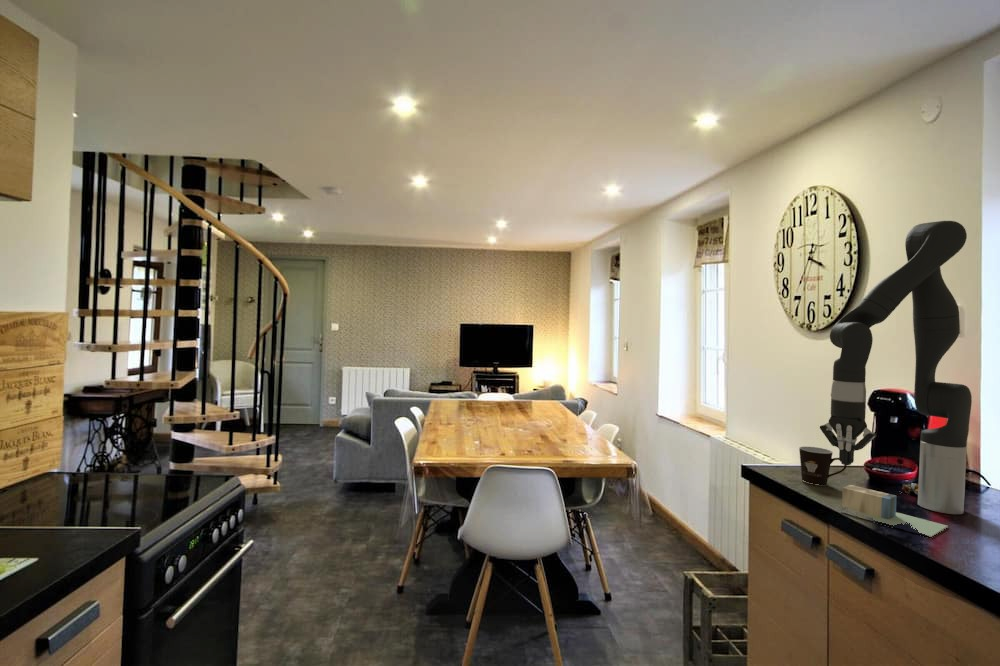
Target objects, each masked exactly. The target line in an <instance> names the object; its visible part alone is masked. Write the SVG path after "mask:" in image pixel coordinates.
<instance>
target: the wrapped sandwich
mask: <svg viewBox="0 0 1000 666" xmlns="http://www.w3.org/2000/svg"><path fill="white" fill-rule="evenodd" d="M918 486H919V483H913V482H911V484H903V483H902V490H903V491H904V492H905V493H908V494H909V495H910V493H914V494H915V495H917V496H918ZM900 492H901V491H900ZM901 493H903V492H901ZM901 493H900V494H901ZM908 494H907V495H908Z"/></svg>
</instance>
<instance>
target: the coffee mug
mask: <svg viewBox="0 0 1000 666" xmlns="http://www.w3.org/2000/svg"><path fill="white" fill-rule="evenodd" d="M798 449H799V450H798V451H799V460H800V471H801V472H800V473H801V481H802V480H804V481H806V482H809V483H813V484H819V485H826V484H828V480H829V478H830V477H832V476H836V475H838V474H841V473H843V472H844V471H845V470H846V469H847V466H848V465H844V464H843V465H844V467H843V468H842V469H841V470H838V471H835V472H833V473H830V471H831V470H830V469H831V465H832V464H833V462H835V461H837V460H838V461H840V460H839V457H834V458H833V457H832V456H833V451H832V450H830V449H827V448H823V447H818V446H817V447H815V446H799V448H798ZM826 486H827V485H826Z"/></svg>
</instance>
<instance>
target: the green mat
mask: <svg viewBox="0 0 1000 666" xmlns="http://www.w3.org/2000/svg"><path fill="white" fill-rule="evenodd" d="M860 514H861V515H862V514H863V515H864V514H865V515H866V516H868V517H871V518H873V520H875V521H878V522H882V523H886V524H889V525H893V526H894V525H897V524H901V523H902V524H903V525H904V524H905V523H906V522H907V523H908V524H909V523H910V526H911V525H912V526H911V528H912V527H913V529H915V528H916V529H917V530H918V532H919V533H922V534H925V535H927V536H929V537H932V536H934V535H936V534H937V535H939V534H940V533H942V532H944V531H945V530H947V529H948V527H949V525H947V524H944V523H943V524H942V523H939V522H935V521H932V520H931V521H930V520H928V519H925V518H921V517H915V516H911V515H908V514H906V513H905V514H904V513H901V512H897V511H896V516H894V517H893V518H891V519H889V520H888V519H884V518H880V517H877V516H873V515H869V514H866V513H862V512H860ZM907 523H906V524H907ZM946 528H947V529H946ZM916 529H915V530H916ZM944 529H945V530H944ZM941 531H942V532H941ZM939 532H940V533H939ZM938 533H939V534H938ZM937 535H936V536H937ZM934 537H935V536H934ZM932 538H933V537H932Z"/></svg>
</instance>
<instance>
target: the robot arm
mask: <svg viewBox="0 0 1000 666" xmlns="http://www.w3.org/2000/svg"><path fill="white" fill-rule="evenodd" d="M967 236H968V235H967V229H966V228H965V226H963V224H961V223H959V222H958V221H955V220H938V221H932V222H924V223H919V224H916V225H914V226H912V228H910V229H909V230H908V232H907V234H906V237H905V245H904V246H905V254H906V259H907V262H906V263H905V264H903V265H902V266H900V267H899V268H898V269H897V270H895V271H894V272H891V274H889V275H888V276H886V277H885V278H883V279H882V280H880V281H879V282H878V283H877V284H876V285H874V286H873V288H871V289H870V291H868V293H867V294H866V295H865V296H864V297H863V298H862V299H861V301H860V302H859V303H858V305H857V306H855V307H854V308H853V309H851V310H850V311H849V312H848V313H846V314H845V315H843V317H841V318H840V319H839V320H838V321H837V322H836V323H835V324H834V325H833V326H832V328H831V329H830V332H829V340H830V342H831V344H832V345H833V346H835V347H837V348H839V349H841V351H840V356H839V358H837V359H835V360H834V362H833V367H832V384H831V390H830V391H831V392H830V397H831V398H830V417H829V418H828V422H827V423H825V424H822V425H820V426H819V429H820V430H821V432H822V434H823V435H824V436H825V438H826V439H827V440H828V442H829V444H831V445H830V446H832V447H836V448H837V449H838V450H839V451H838V452H839V455H838V458H839V460H838V461H839V462H840V463H841V465H847V466H850V465H852V464H853V463H854V461H855V460H854V458H855V457H854V456H855V451H860V450H862V449H864V448H865V447H866V446H867V445H868V444H869V443H870V442H872V441H873V440H874V439H875V438H876V437H877V433H876V432H874V431H871V430H870V429H869V428H868V425H867V422H866V409H867V407H866V403H867V389H866V375H867V372H866V366H867V363H868V361H869V357H870V355H871V354H870V353H871V351H872V346H873V341H874V340H873V339H874V338H873V334H872V330H871V328H872V327H873V326H875V325H878V324H881V323H882V322H885V320H887V318H889V317H890V315H891V314H892V313H893V312H894V311H895V310H896V309H897V307H899V305H900V304H901V303H902V301H904V300H905V299H906V297H907V296H909V295H910V294H911V296H912V298H911V299H912V323H913V324H912V325H913V337H914V348H915V349H914V350H915V369H914V372H915V373H914V393H913V394H914V395H913V397H914V405H915V408H916V411H917V412H918V413H919V414H920V415H923V416H930V417H936V418H945V419H947V421H946V423H945V424H944V425H943V426H939V427H934V428H928V429H924V430H922V431H921V432H920V441H919V442H920V444H919V445H920V446H919V468H918V469H919V470H918V485H919V486H918V495H917V505H918V506H920V507H921V508H924V509H927V510H930V511H933V512H937V513H943V514H948V515H949V514H950V515H963V514H964V513H965V512H964V509H965V506H964V505H965V491H966V469H967V447H968V446H967V444H968V439H969V438H968V437H969V430H970V419H971V410H972V392H971V390H970V388H969V387H968V386H967V385H965V384H961V383H960V384H959V383H952V382H940V381H936V371H937V368H938V365H939V363H940V362H941V360H942V358H944V356H945V354H946V353H947V352H948V351H949V350H950V349H951V347H952V346H953V345H954V344H955V342H956V341H957V339H958V338H959V335H960V332H961V324H960V323H961V322H960V311H959V305H958V303H957V301H956V299H955V297H954V296H953V294H952V293H951V291H950V289H949V288H948V286H947V284H946V283H945V281H944V278H943V275H942V272H941V271H942V270H941V267H942V266H943V265H944V264H945V263H947V262H948V261H949V260H950V259H952V258H953V257H954V256H955V255H957V253H959V252H960V251H961V250H962V249H963V247H964V246H965V243H966V242H967ZM833 431H834V432H835V433H834V432H833ZM835 434H836V435H835ZM861 434H862V439H860V440H859V441H858V437H859V436H860V435H861Z"/></svg>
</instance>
